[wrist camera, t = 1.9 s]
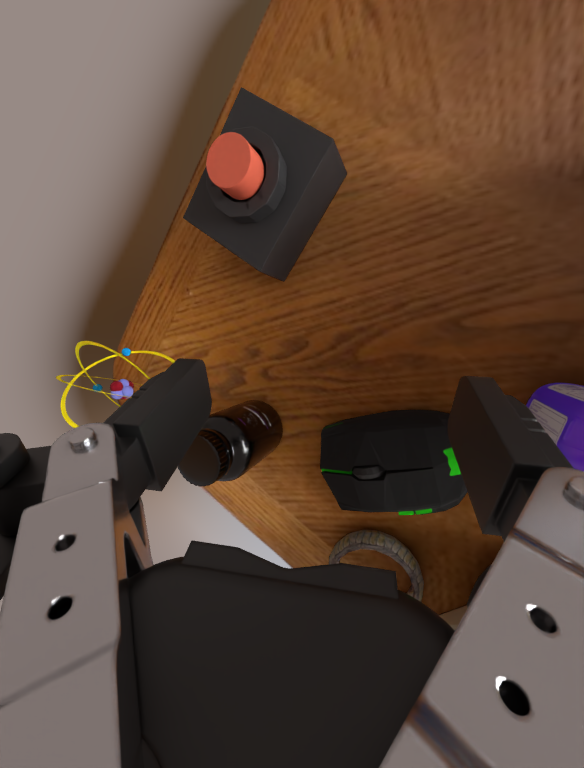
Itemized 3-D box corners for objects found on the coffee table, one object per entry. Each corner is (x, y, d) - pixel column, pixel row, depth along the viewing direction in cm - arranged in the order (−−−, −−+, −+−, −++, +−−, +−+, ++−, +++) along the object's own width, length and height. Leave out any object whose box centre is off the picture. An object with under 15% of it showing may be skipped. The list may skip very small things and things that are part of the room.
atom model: (110, 348, 46) (4, 331, 33) (206, 327, 43) (130, 299, 29) (122, 445, 46) (17, 468, 32) (220, 432, 42) (148, 451, 29)
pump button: (237, 140, 28) (220, 122, 25) (273, 162, 27) (260, 145, 25) (215, 186, 29) (198, 173, 27) (249, 208, 28) (234, 197, 26)
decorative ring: (327, 530, 35) (429, 555, 32) (334, 515, 38) (427, 536, 35) (322, 614, 37) (418, 646, 33) (329, 592, 40) (417, 619, 36)
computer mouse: (499, 509, 32) (511, 533, 28) (336, 519, 38) (328, 540, 34) (475, 396, 31) (483, 404, 27) (312, 424, 37) (301, 434, 33)
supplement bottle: (283, 400, 38) (230, 427, 27) (284, 456, 39) (234, 505, 28) (231, 397, 40) (163, 420, 29) (234, 450, 41) (168, 493, 30)
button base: (269, 128, 34) (230, 71, 27) (347, 173, 32) (328, 125, 25) (217, 235, 38) (170, 211, 31) (284, 281, 36) (251, 268, 29)
